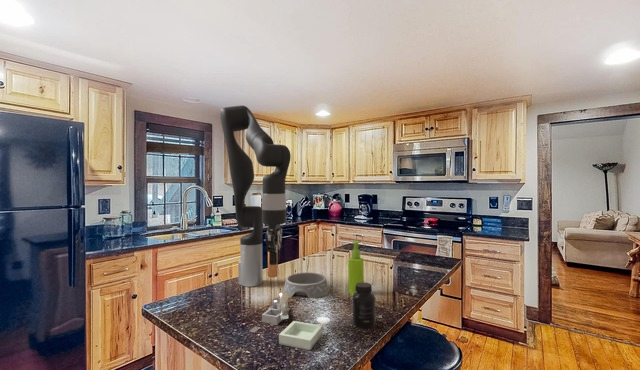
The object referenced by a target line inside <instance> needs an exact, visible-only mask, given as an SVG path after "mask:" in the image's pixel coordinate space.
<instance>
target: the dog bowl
mask: <svg viewBox="0 0 640 370" xmlns="http://www.w3.org/2000/svg"><path fill="white" fill-rule="evenodd" d="M329 291H330V289H329V286H328V282H327V277H326V276H325V275H323V274H320V273H317V272H298V273H293V274H291V275H288V276H286V278H285V282H284V286H283V291H282V292H287V293H288V297H290V298H292V297H293V296H294V294H295V295H298V296H307V297H308V299H315V298H320V297H323V296H325V295H327V294H328V293H329Z"/></svg>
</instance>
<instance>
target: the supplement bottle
mask: <svg viewBox="0 0 640 370" xmlns="http://www.w3.org/2000/svg"><path fill="white" fill-rule="evenodd" d="M372 288H373V287H372V284H371V283H370V282H365V281H364V282H360V283H357V284H356V292H355V293H354V294H353V295H352V324H353V325H354V326H355V327H356V328H359V329H363V330H365V329H372V328H373V327H375V325H376V297H375V294H374V293H372V292H373V289H372Z"/></svg>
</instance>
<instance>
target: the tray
mask: <svg viewBox="0 0 640 370" xmlns="http://www.w3.org/2000/svg"><path fill="white" fill-rule="evenodd" d="M323 329H324V328H323V325H322V324H314V323H308V322H303V321H297V320H293V321H292V322H291V323H290V324H289V325H288V326H286V328H284V329H283V330H282V331H281V332H280V333H279V334H278V344H279V345H282V346H288V347H293V348H296V349H301V350H305V351H306V350H307V351H311V350H312V349H313V348H314V346H315V345H316V343H318V341H319V340H320V338H321V337H322V336H323V335H324V334H323V331H324V330H323Z"/></svg>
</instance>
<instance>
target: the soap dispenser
mask: <svg viewBox="0 0 640 370" xmlns="http://www.w3.org/2000/svg"><path fill="white" fill-rule="evenodd" d="M360 243H362V241H361V240H354V241H353V242H352V245H353V249H351V257H349V258H348V265H347V266H348V269H347V270H348V294H349V295H352V294H354V293H355V292H356V284H357V283H360V282H365V280H364V275H365V274H364V267H365V266H364V258H362V257H361V249H359V244H360Z"/></svg>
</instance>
